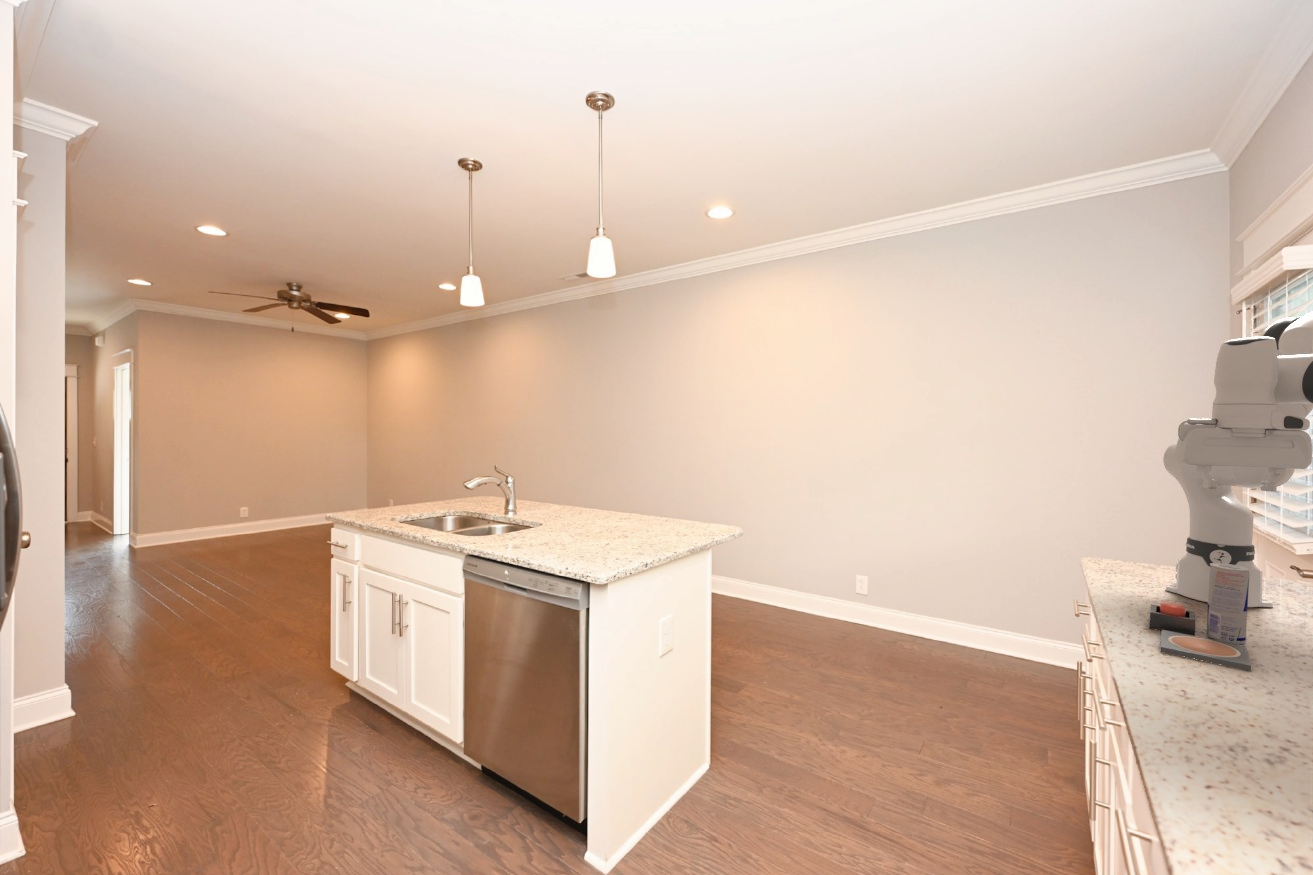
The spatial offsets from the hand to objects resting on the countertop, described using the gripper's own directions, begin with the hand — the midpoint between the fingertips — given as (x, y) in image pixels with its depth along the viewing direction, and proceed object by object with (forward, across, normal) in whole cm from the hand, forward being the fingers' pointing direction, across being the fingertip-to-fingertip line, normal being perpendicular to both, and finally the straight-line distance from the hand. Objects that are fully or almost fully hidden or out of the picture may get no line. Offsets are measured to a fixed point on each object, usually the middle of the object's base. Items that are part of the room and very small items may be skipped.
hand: (1238, 489), depth 114 cm
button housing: (+30, -7, +4) cm, 31 cm away
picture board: (+30, -9, -8) cm, 33 cm away
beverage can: (+30, -1, 0) cm, 30 cm away
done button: (+28, -7, +4) cm, 29 cm away
